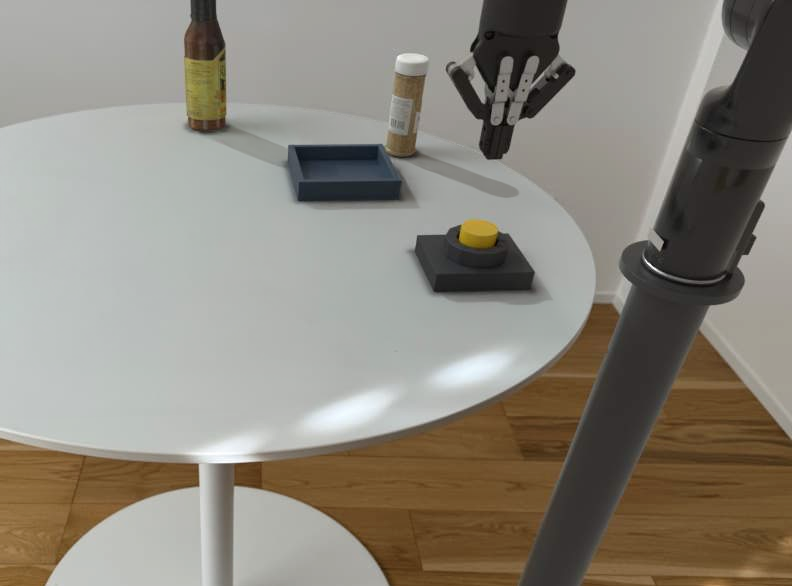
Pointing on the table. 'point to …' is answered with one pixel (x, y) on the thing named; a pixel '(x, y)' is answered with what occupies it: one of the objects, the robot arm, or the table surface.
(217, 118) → the sauce bottle
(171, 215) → the table surface
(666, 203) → the robot arm
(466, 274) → the button housing
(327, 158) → the tray
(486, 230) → the trigger button
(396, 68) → the spice jar
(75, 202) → the table surface
